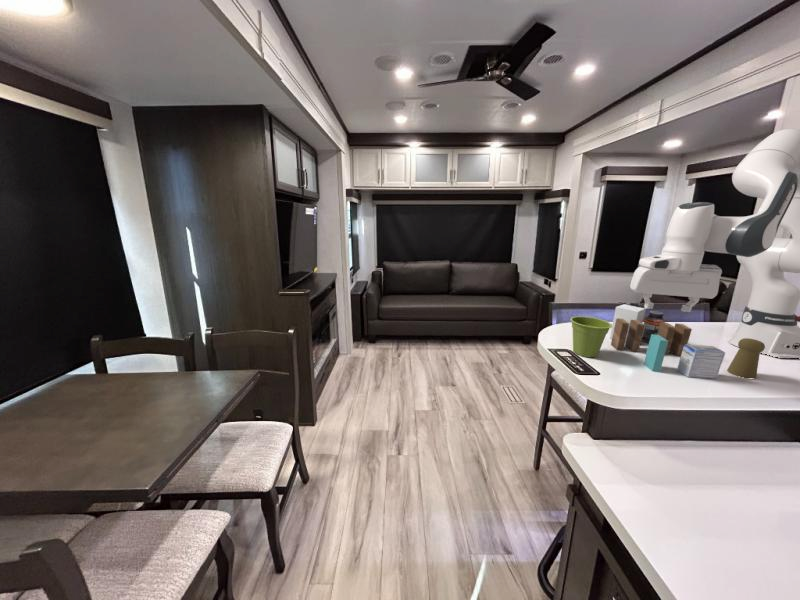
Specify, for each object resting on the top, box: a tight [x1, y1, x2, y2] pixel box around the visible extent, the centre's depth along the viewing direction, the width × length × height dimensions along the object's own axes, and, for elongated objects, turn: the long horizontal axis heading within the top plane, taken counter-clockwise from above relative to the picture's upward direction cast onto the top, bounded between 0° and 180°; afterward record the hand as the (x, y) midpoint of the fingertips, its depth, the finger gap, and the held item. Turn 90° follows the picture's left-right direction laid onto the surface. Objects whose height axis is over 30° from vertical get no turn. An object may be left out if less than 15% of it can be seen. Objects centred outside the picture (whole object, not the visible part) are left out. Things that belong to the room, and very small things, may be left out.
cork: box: [726, 338, 765, 379], centre depth 93 cm, size 6×6×11 cm
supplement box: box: [609, 303, 647, 343], centre depth 117 cm, size 7×7×13 cm
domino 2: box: [624, 320, 645, 353], centre depth 109 cm, size 2×5×10 cm, turn 167°
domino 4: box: [657, 321, 676, 356], centre depth 107 cm, size 2×5×10 cm, turn 167°
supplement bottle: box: [641, 310, 666, 344], centre depth 117 cm, size 6×6×11 cm
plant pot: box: [570, 315, 613, 358], centre depth 104 cm, size 12×12×11 cm
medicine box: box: [676, 344, 726, 379], centre depth 92 cm, size 8×4×9 cm, turn 84°
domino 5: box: [669, 323, 693, 358], centre depth 106 cm, size 2×5×10 cm, turn 167°
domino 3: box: [643, 334, 668, 373], centre depth 95 cm, size 2×5×10 cm, turn 167°
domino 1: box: [610, 318, 630, 352], centre depth 110 cm, size 2×5×10 cm, turn 167°
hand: (666, 310), depth 92 cm, fingers open, 8 cm apart
